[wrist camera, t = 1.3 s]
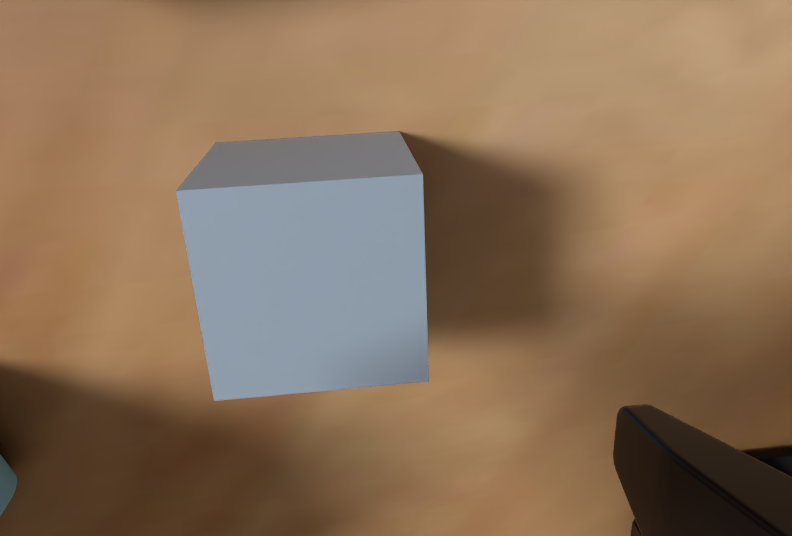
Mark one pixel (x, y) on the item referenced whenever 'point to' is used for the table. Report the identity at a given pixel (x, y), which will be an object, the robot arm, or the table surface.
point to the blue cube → (308, 263)
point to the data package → (6, 484)
